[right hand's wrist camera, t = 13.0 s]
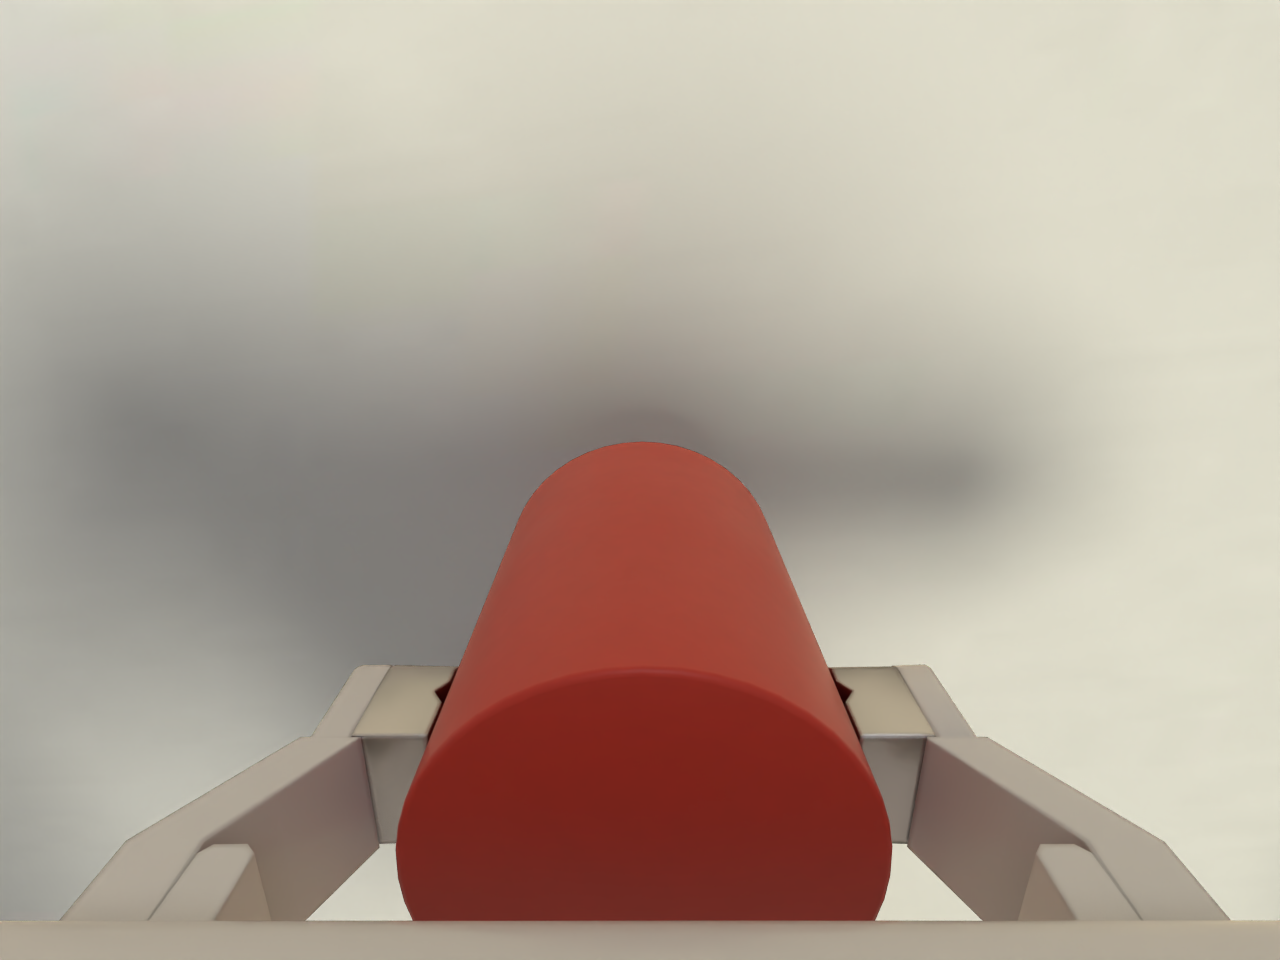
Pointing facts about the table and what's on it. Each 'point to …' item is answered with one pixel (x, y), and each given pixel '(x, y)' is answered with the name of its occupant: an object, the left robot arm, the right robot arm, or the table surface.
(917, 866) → the table surface
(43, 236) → the table surface
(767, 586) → the canister
